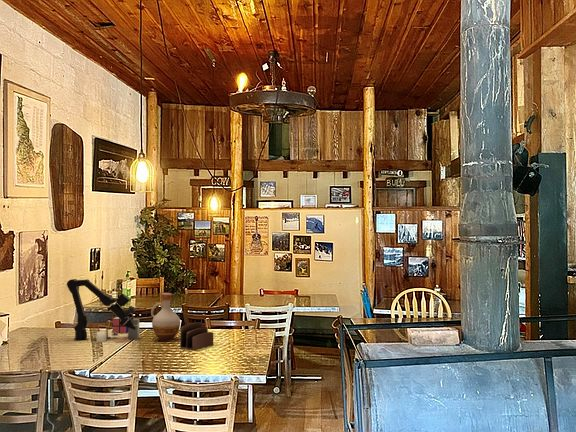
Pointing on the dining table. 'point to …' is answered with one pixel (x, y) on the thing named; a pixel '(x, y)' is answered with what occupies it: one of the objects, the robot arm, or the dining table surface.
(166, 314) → the jug
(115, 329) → the puzzle cube
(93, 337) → the dining table surface
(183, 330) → the letter holder
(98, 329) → the balance
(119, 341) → the tile
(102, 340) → the beige square piece
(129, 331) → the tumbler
